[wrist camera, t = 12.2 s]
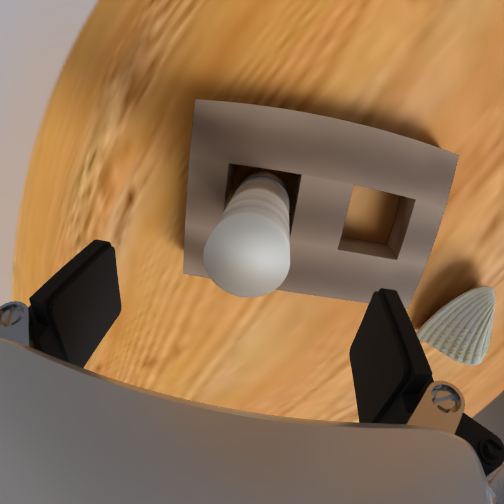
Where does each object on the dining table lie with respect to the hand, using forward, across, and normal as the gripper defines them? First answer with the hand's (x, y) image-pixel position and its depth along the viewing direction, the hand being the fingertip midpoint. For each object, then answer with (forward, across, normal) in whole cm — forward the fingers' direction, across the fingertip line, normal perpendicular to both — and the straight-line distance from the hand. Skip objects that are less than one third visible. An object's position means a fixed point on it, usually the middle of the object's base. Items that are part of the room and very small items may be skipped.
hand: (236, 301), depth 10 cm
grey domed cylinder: (+16, 0, +1) cm, 16 cm away
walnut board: (+16, -4, +1) cm, 16 cm away
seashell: (+16, -22, +8) cm, 29 cm away
